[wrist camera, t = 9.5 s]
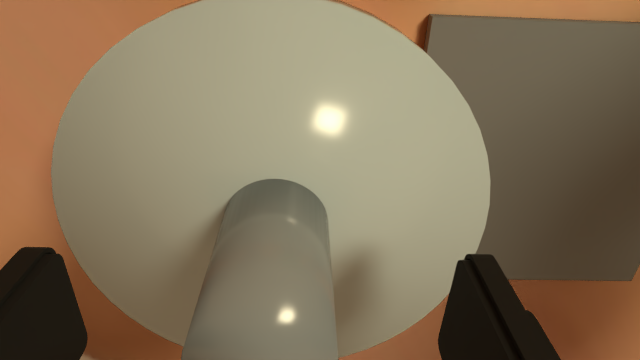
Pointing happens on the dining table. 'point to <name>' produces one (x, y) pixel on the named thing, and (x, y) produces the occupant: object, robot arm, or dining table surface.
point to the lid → (270, 179)
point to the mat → (553, 139)
